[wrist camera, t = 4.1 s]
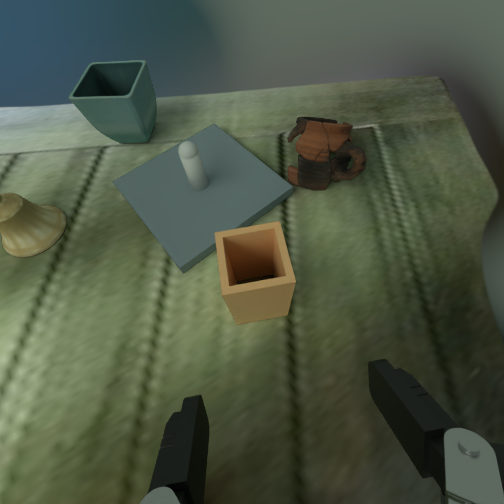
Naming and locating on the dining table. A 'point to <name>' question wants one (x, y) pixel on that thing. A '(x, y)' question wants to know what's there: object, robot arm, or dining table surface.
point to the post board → (201, 193)
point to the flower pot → (118, 100)
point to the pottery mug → (324, 153)
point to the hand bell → (29, 225)
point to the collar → (255, 272)
